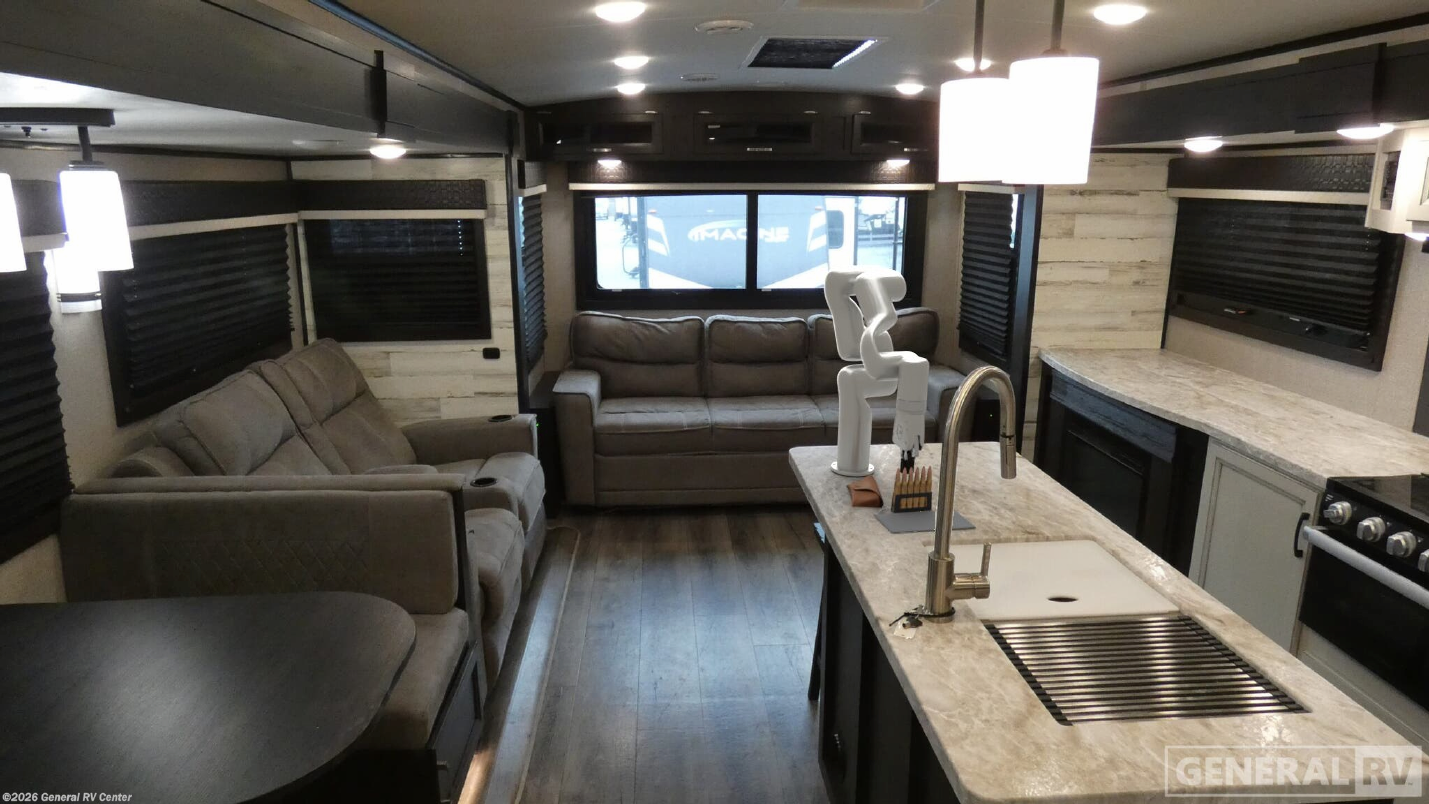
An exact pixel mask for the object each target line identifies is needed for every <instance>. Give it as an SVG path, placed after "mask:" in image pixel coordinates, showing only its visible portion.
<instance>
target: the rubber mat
mask: <svg viewBox="0 0 1429 804" xmlns="http://www.w3.org/2000/svg"><path fill="white" fill-rule="evenodd" d="M953 510H954V516H953V526H952V530H951V531H954V530H953V529H959V530H971V529H972V530H973V529H974V530H976V529H977V527H976V526H975V525H974V524H973V523H972V522H971V521H969V520H968V519H967V518H965V517H964V515H962V514H960V513H959V512H958V511H956V509H953ZM935 511H936V510H931V511H921V512H905V513H893V512H890V513H889V512H888V513H875V514H873V517H875V518H876V519H877V521H878V522H879V523H880V524H881V525H882V526H883V527H884V528H885V527H886V530H887V529H888V530H887V531H888V532H889V531H890V532H891V533H894V534H901V533H900V532H910V533H915V532H914V531H927V532H935V531H934V529H935ZM890 532H889V533H890ZM891 533H890V534H891Z"/></svg>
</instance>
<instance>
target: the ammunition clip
mask: <svg viewBox="0 0 1429 804" xmlns="http://www.w3.org/2000/svg"><path fill="white" fill-rule="evenodd" d="M932 476H933V470H932V466H931V465H929V466H928V469H927V471H926V467H925V466H922V469H921V472H920V468H919V466H916V468H915V470H914V473H913V469H912V467H911V468H910V471H909V474H907V471H906V468H904V470H903V474H902V473H901V472H900V467H898V468H897V470H896V473H895V478H894V484H893V492H892V498H891V505H890V512H891V513H905V512H920V511H921V512H923V511H933V510H932V509H933V508H932V507H933V506H932V504H933V491H932V490H933V489H932V488H933V487H932V486H933V478H932Z"/></svg>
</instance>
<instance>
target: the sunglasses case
mask: <svg viewBox="0 0 1429 804" xmlns="http://www.w3.org/2000/svg"><path fill="white" fill-rule="evenodd" d="M845 487H846V488H847V490H848V492H849V495H850V499H851V507H853V508H871V509H872V508H875V509H876V508H877V509H882V508H883V507H884V505H885V502H884V499H883V496H882V493H881V491H880V487H879V485H878V483H877V480H876V479H875V476H874V475H872V474H870V475H867V476H864V478H862V479H861V478H860V479H859V480H856V481H854V482H851V483H848V484H846V486H845Z"/></svg>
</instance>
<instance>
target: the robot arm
mask: <svg viewBox="0 0 1429 804" xmlns="http://www.w3.org/2000/svg"><path fill="white" fill-rule="evenodd" d="M823 291H824V297H825V300H826V303H827V306H828V308H829V310H830V314H831V317H832V321H833V322H832V323H833V328H834V334H835V341H836V348H837V352H838V355H839V357H840V358H841V360H844V361H847V362H860V361H861V362H862V363H860V364H851V365H847V366H844V367H842V368H841V369H840V371H839V372H838V374H837V377H836V378H837V379H836V381H837V382H836V383H837V391H838V400H839V401H838V403H839V404H838V407H839V409H838V429H837V430H838V431H837V448H836V449H837V450H836V451H837V452H836V461H833V462H832V463H831V465H830V470H831V471H832V472H834V473H836V474H838V475H841V476H846V477H867V476H869V475H872V474H873V473H874V472H875V466H874V465H873V464H871V463H870V457H871V441H872V425H873V424H872V422H873V412H872V409H871V406H870V405H869V404H868V402H867V400H866V398H875V397H876V398H877V397H885V396H890V395H892V394H894V393H895V392H896V390H897V393H896V408H895V410H896V411H895V414H894V415H895V416H894V423H893V430H892V442H893V444H895V445H896V446H897V447H898V448H899V449H900V453H899V455H900V463H899V464H900V466H899V469H900V474H901V475H902V474H903V470H904V468H906V471H907V475H909V471H910V468H911V467H912V469H913V474H915V464H916V463H915V461H916V458H917V457H918V458H919V456H920V452H921V451H923V449H924V444H925V427H926V426H925V413H926V412H927V401H928V390H929V389H928V388H929V374H930V362H929V361H928V359H927V358H924V357H921V356H918V355H917V354H916V353H914V352H912V351H894V345H893V342H892V341H893V340H892V338H891V335H890V334H889V331H888V330H889V329H891V328H893V326H895V324H896V323H897V320H898V313H897V312H896V309H895V306H894V304H893V302H900V301H901V300H903V299H904V297H905V295H906V293H907V283H906V281H905V278H904V277H903V275H902V274H901V273H900V272H899V271H896V270H893V269H890V268H887V267H885V266H881V265H842V266H841V265H840V266H836V267H834V268H833V267H832V268H831V269H829V270H828V272H827V273H826V274H825V277H824V283H823ZM850 296H856V299H857V302H858V304H859V306H858V305H857V303H856V302H855V301H854V300H853V299H852V298H851V297H850ZM863 319H864V320H863ZM864 323H865V324H866V326H865V324H864Z"/></svg>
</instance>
